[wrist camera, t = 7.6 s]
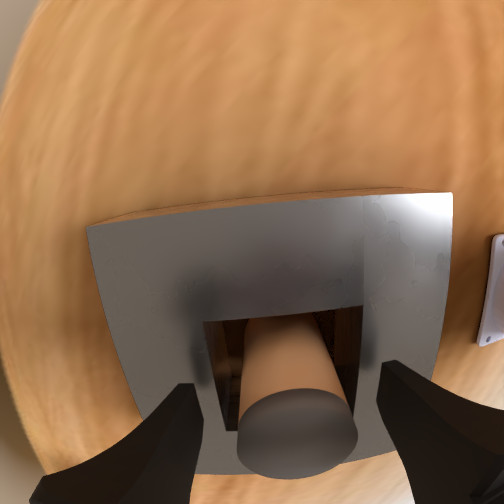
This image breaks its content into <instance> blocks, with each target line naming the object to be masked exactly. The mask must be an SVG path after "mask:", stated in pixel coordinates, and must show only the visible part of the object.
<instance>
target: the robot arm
mask: <svg viewBox="0 0 504 504" xmlns="http://www.w3.org/2000/svg"><path fill="white" fill-rule="evenodd" d="M502 241H503V243H502ZM503 338H504V234H498V235H495V236H494V238H493V240H492V250H491V261H490V270H489V278H488V285H487V292H486V298H485V304H484V309H483V314H482V319H481V324H480V329H479V333H478V337H477V344H478V345H479V346H480V347H482V346H485V345H487V344H490V343H493V342H495V341H498V340H500V339H503ZM376 403H377V406H378V409H379V412H380V415H381V418H382V421H383V423H384V425H385V427H386V429H387V431H388V433H389V436H390V438H391V440H392V442H393V444H394V446H395V448H396V450H397V452H398V454H399V456H400V458H401V460H402V462H403V465H404V467H405V470H406V473H407V476H408V479H409V483H410V486H411V490H412V494H413V497H414V501H415V504H504V410H500V409H496V408H492V407H488V406H484V405H481V404H478V403H475V402H473V401H470V400H467V399H465V398H462V397H460V396H458V395H456V394H454V393H452V392H450V391H448V390H446V389H444V388H442V387H440V386H438V385H436V384H435V383H433V382H431V381H430V380H428V379H426V378H425V377H423V376H421V375H420V374H418V373H417V372H415V371H414V370H412V369H410V368H409V367H407V366H406V365H404V364H403V363H401V362H399V361H397V360H391V361H387V362H382V365H381V372H380V378H379V385H378V391H377V397H376ZM203 427H204V418H203V414H202V411H201V407H200V404H199V400H198V396H197V393H196V389H195V385H194V383H178V384H177V386H176V387H175V388H174V389H173V390H172V391H171V392H170V393H169V394H168V395H167V397H166V398H165V399H164V400H163V401H162V402H161V403H160V404H159V405H158V407H157V408H156V409H155V410H154V411H153V412H152V413H151V414H150V415H149V416H148V417H147V418H146V419H145V420H144V421H143V422H142V423H141V424H140V425H138V426H137V427H136V428H135V429H134V430H133V431H132V432H131V433H129V434H128V435H127V436H126V437H124V438H123V439H122V440H120V441H119V442H117V443H116V444H115V445H113V446H112V447H110V448H109V449H107V450H105V451H103V452H102V453H100V454H98V455H97V456H95V457H93V458H91V459H89V460H87V461H85V462H83V463H81V464H79V465H76V466H74V467H71V468H69V469H66V470H63V471H60V472H57V473H53V474H50V475H46V476H43V477H42V479H41V480H40V482H39V484H38V485H37V487H36V489H35V491H34V492H33V494H32V496H31V498H30V499H29V503H30V504H189V502H190V493H191V487H192V483H193V478H194V474H195V470H196V466H197V462H198V457H199V453H200V449H201V444H202V438H203Z"/></svg>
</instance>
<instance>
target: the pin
mask: <svg viewBox="0 0 504 504" xmlns="http://www.w3.org/2000/svg"><path fill="white" fill-rule="evenodd" d="M357 441H358V430H357V428H356V425H355V422H354V419H353V416H352V414H351V411H350V408H349V406H348V403H347V400H346V397H345V395H344V392H343V389H342V387H341V384H340V381H339V379H338V376H337V373H336V371H335V368H334V366H333V363H332V360H331V358H330V355H329V353H328V350H327V347H326V345H325V342H324V340H323V337H322V335H321V332H320V330H319V327H318V325H317V322H316V320H315V318H314V316H313V315H312V314H311V312H307V313H298V314H289V315H279V316H269V317H258V318H250V319H249V321H248V323H247V325H246V328H245V336H244V350H243V364H242V378H241V393H240V407H239V421H238V435H237V449H236V450H237V455H238V458H239V460H240V461H241V463H242V464H243V465H244V466H245V467H246V468H248V469H249V470H251V471H252V472H254V473H257V474H259V475H262V476H265V477H269V478H275V479H300V478H306V477H311V476H314V475H318V474H321V473H323V472H326V471H328V470H330V469H332V468H334V467H335V466H337V465H339V464H340V463H341V462H343V461H344V460H345V459H346V458H347V457H348V456H349V455H350V454H351V453H352V451H353V450H354V448H355V446H356V444H357Z"/></svg>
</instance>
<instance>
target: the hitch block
mask: <svg viewBox="0 0 504 504" xmlns="http://www.w3.org/2000/svg"><path fill="white" fill-rule="evenodd" d="M86 232H87V238H88V243H89V249H90V254H91V259H92V263H93V268H94V273H95V277H96V281H97V285H98V290H99V294H100V297H101V301H102V305H103V309H104V312H105V316H106V319H107V323H108V326H109V330H110V333H111V336H112V339H113V342H114V346H115V349H116V352H117V355H118V357H119V360H120V363H121V366H122V369H123V372H124V374H125V377H126V380H127V382H128V385H129V388H130V390H131V393H132V395H133V398H134V400H135V402H136V405H137V407H138V410H139V412H140V414H141V417H142V419H143V421H144V420H145V419H146V418H147V417H148V416H149V415H150V414H151V413H152V412H153V411H154V410H155V409H156V408H157V407H158V405H159V404H160V403H161V402H162V401H163V400H164V399H165V398H166V397H167V395H168V394H169V393H170V392H171V391H172V390H173V389H174V388H175V387H176V386H177V384H178V383H194V385H195V389H196V393H197V396H198V400H199V404H200V407H201V411H202V414H203V418H204V427H203V438H202V444H201V449H200V453H199V457H198V462H197V466H196V470H195V474H214V475H238V474H257V473H254V472H252V471H251V470H249V469H248V468H246V467H245V466H244V465H243V464H242V463H241V461H240V460H239V458H238V455H237V450H236V449H237V435H238V421H239V407H240V393H241V378H242V377H232V375H231V369H230V364H229V358H228V352H227V346H226V340H225V334H224V327H223V321H222V320H234V319H247V318H258V317H269V316H279V315H289V314H298V313H307V312H315V311H323V310H331V309H335V341H334V368H335V371H336V373H337V376H338V379H339V381H340V384H341V387H342V389H343V392H344V395H345V397H346V400H347V403H348V406H349V408H350V411H351V414H352V416H353V419H354V422H355V425H356V428H357V430H358V441H357V444H356V446H355V448H354V450H353V451H352V453H351V454H350V455H349V456H348V457H347V458H346V459H345V460H344V461H343V462H341V463H340V464H342V463H347V462H352V461H356V460H361V459H365V458H369V457H373V456H377V455H381V454H384V453H388V452H392V451H395V450H396V448H395V446H394V444H393V442H392V440H391V438H390V436H389V433H388V431H387V429H386V427H385V425H384V423H383V421H382V418H381V415H380V412H379V409H378V406H377V403H376V397H377V391H378V385H379V378H380V372H381V365H382V362H387V361H391V360H397V361H399V362H401V363H403V364H404V365H406V366H407V367H409V368H410V369H412V370H414V371H415V372H417V373H418V374H420V375H421V376H423V377H425V378H426V379H428V380H430V381H431V378H432V374H433V370H434V366H435V362H436V357H437V353H438V348H439V343H440V338H441V333H442V327H443V321H444V315H445V308H446V301H447V293H448V285H449V275H450V263H451V248H452V193H450V192H442V191H433V190H424V189H414V188H404V187H398V188H372V189H352V190H335V191H320V192H306V193H293V194H282V195H270V196H260V197H250V198H240V199H231V200H222V201H213V202H205V203H197V204H189V205H181V206H174V207H167V208H160V209H153V210H146V211H139V212H133V213H128V214H125V215H122V216H118V217H115V218H112V219H109V220H106V221H102V222H99V223H96V224H93V225H90V226H87V227H86Z"/></svg>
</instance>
